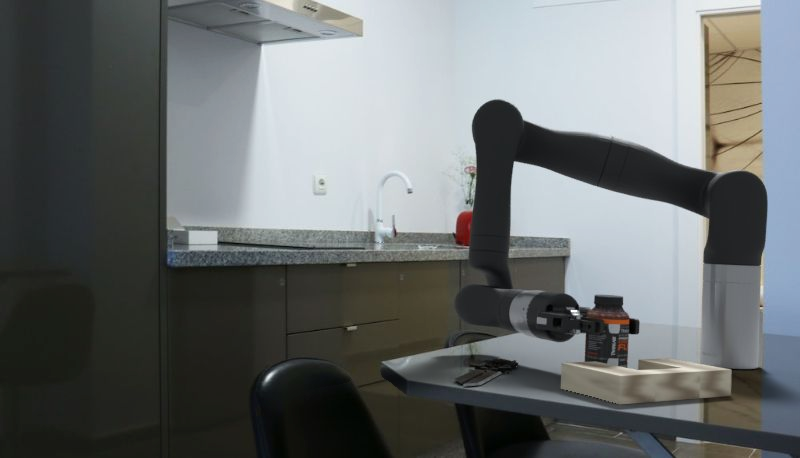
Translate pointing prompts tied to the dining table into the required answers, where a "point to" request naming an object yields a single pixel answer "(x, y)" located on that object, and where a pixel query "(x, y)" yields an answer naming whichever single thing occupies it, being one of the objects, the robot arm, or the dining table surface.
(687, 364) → the slot dock
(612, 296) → the supplement bottle
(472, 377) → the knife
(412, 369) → the dining table surface
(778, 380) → the dining table surface
